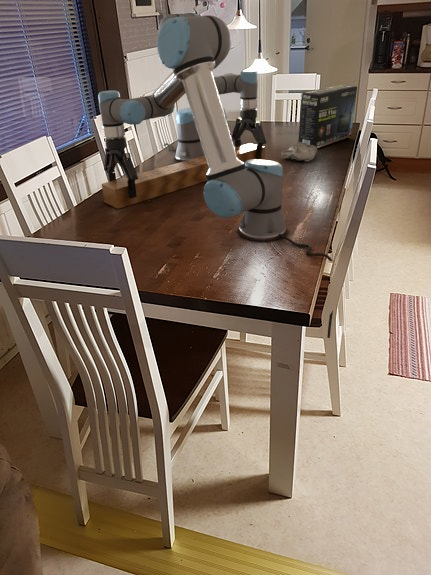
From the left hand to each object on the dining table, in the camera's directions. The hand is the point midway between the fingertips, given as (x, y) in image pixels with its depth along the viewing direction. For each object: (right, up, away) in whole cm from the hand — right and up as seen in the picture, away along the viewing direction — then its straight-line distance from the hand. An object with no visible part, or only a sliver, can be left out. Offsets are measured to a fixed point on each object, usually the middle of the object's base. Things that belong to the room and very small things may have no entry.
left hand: (248, 156), depth 216 cm
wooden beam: (-25, -16, -18) cm, 35 cm away
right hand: (-51, -25, -39) cm, 69 cm away
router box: (+43, +15, +29) cm, 54 cm away
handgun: (-7, +21, +42) cm, 48 cm away
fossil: (+25, +1, +6) cm, 26 cm away
